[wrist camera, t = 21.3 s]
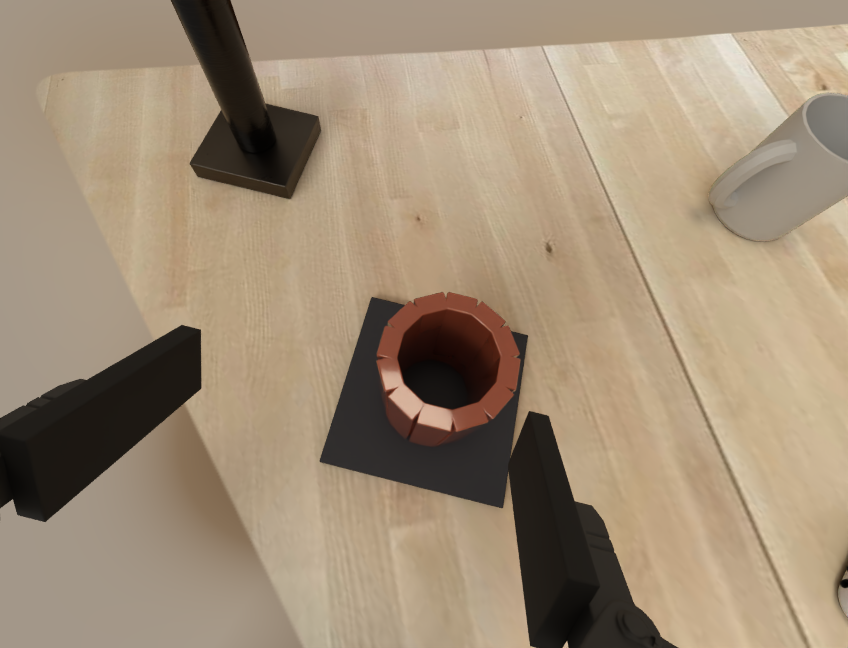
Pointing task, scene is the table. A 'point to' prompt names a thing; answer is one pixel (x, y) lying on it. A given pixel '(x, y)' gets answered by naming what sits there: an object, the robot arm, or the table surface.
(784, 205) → the cup
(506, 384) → the sleeve ring
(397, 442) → the mat
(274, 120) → the post stand
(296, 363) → the table surface
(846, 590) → the remote control
